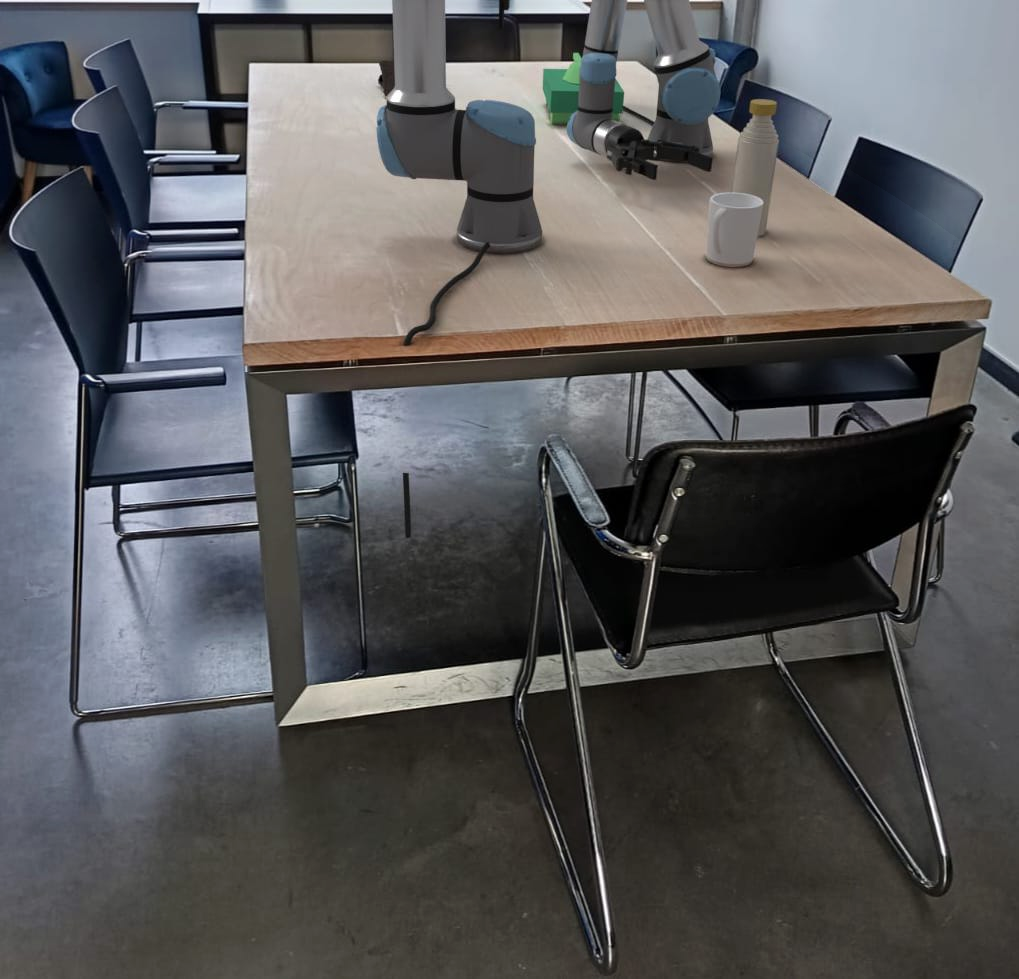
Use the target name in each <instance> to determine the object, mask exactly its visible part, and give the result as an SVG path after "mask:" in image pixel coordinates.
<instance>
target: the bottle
mask: <svg viewBox="0 0 1019 979" xmlns="http://www.w3.org/2000/svg"><path fill="white" fill-rule="evenodd" d="M773 123H774V121H773V120H772V115H771V116H760V115H754V114H752V116H751V118H750V119H749V122H747V123H746V126H745V127H743V130H741V132H740V134H739V136H738V140H737V148H736V156H735V162H734V163H735V164H734V170H733V177H732V178H733V179H732V185H731V186H732V188H731V193H744V194H749V195H753V196H756V197H759V198H760V199H762V200H763V202H764V204H763V209H762V214H761V219H760V225H759V230H758V235H757V238H759V237H761V236H764V235H765V234H766V232H767V226H768V219H769V211H770V206H771V199H772V191H773V185H774V179H775V178H774V177H775V171H776V164H777V159H778V158H777V157H778V150H779V145H780V144H779V143H780V140H779V134H778V133H777V130H776V129H775V128H776V127H775V125H774V124H773Z"/></svg>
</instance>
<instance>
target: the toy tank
mask: <svg viewBox="0 0 1019 979" xmlns="http://www.w3.org/2000/svg"><path fill="white" fill-rule="evenodd" d="M572 59H573V61H574V62H572V63H570V64H569V66H568V68H543V69H542V72H543V73H542V92H543V95H544V97H545V104H546V106H547V107H548V109H549V113H550V123H551V125H567V124H568V122H569V120H570V117H571V115H572V114H573V113H575V112H576V111H577V109H578V98H579V77H580V74H579V71H580V66H581V59H582V56H581V54H580V53H579V52H573V53H572ZM624 100H625V91H624V89H623V88H622V86H621V85H620V83H619V81H618V80H617V77H615V89H614V99H613V112H612V120H614V121H617V122H620V121H619V120H620V115H623V114H624V109H623V106H624V102H625V101H624Z"/></svg>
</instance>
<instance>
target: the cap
mask: <svg viewBox="0 0 1019 979" xmlns="http://www.w3.org/2000/svg"><path fill="white" fill-rule="evenodd" d="M777 106H778V102H777V101H775V100H772V99H764V98H757V99H752V100H750V102H749V110H748V111H749V113H750V114H751V115H753V114H754V115H760V116H771V117H772V116H774V115H776V114H777Z"/></svg>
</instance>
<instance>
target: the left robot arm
mask: <svg viewBox="0 0 1019 979" xmlns="http://www.w3.org/2000/svg"><path fill="white" fill-rule="evenodd" d="M391 4H392V5H391V6H392V7H391V8H392V9H391V10H392V34H393V36H392V37H393V39H392V40H393V61H394V68H395V87H394V89H393V90H392V91H391V92H390V93H389V94H388V96H386V104H384V105H383V106H381V107H379V109H378V111H377V115H376V138H377V147H378V151H379V156H380V159H381V162H382V164H383V166H384V168H385V170H386V171H387V172H388V173H389V174H390V175H391V176H393V177H400V178H407V179H408V178H409V179H411V180H417V179H422V180H423V179H426V180H442V181H443V180H445V181H461V182H464V181H465V182H466V192H467V193H466V198H465V202H464V205H463V209H462V211H461V214H460V218H459V220H458V224H457V227H456V241H457V243H458V244H459V245H461V246H462V247H464V248H466V249H468V250H470V251H475V252H478V253H477V255H476V256H475V258H474V260H473V261H472V262H471V264H469V266H468V267H466V268H465V269H464V270H463V271H462V272H460V273H458V274H457V275H455V276H454V277H453V278H451V279H450V280H449V281H448V282H447V283H446V284H444V286H443V287H442V288H440V290H438V293H436V295H435V296H434V297H433V299H432V301H431V303H430V305H429V317H428V320H427V321H426V323H423V324H420V325H416V326H414V327H412V328H411V329H410V330H409V331H408V332H407V334H406V336H405V338H404V340H403V344H402V346H404V347H409V346H410V345H411V342H412V340H413V338H414V337H415V336H416V335H417V334H419V333H422V332H426V331H428V330H430V329H431V328H432V327H433V325H434V324H435V322H436V319H437V318H436V317H437V306H438V304H439V302H440V301H441V299H442V298H443V297H444V295H445V294H446V293H447V292H448V291H450V289H452V287H454V286H455V285H456V284H458V282H459V281H461V280H463V279H464V278H466V277H467V276H469V275H470V274H471V273H472V272H473V271H474V270H475V269H476V268H477V267H478V265H480V264H479V263H480V262H481V260H482V259H483V257H484V256H485V254H497V255H499V254H500V255H506V254H507V255H508V254H517V253H524V252H527V251H530V250H533V249H536V248H538V247H539V246H540V245H541V244H542V243H543V229H542V224H541V221H540V220H541V219H540V218H539V214H538V213H539V212H538V210H537V206H536V204H535V199H534V183H535V181H534V180H535V148H536V147H535V146H536V144H537V139H536V128H535V127H536V123H535V118H534V116H533V114H532V113H530V112H529V111H528V110H527V109H525V108H524V107H522V106H519V105H517V104H514V103H510V102H505V101H499V100H492V99H485V100H483V99H476V100H471V101H469V102H468V104H467V106H466V107H465V109H457V108H456V97H455V95H454V94H453V93H452V92H451V91H450V90H449V89H448V87H447V64H446V63H447V61H446V60H447V57H446V56H447V54H446V53H447V49H446V44H447V43H446V42H447V41H446V0H391ZM510 7H511V0H498V29H502V30H503V28H505V11H509V10H510ZM402 483H403V484H402V486H403V488H402V489H403V508H404V511H403V512H404V536H405V538H406V539H410V538H412V522H411V520H412V519H411V517H412V516H411V496H410V494H411V492H410V473H409V472H402Z"/></svg>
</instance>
